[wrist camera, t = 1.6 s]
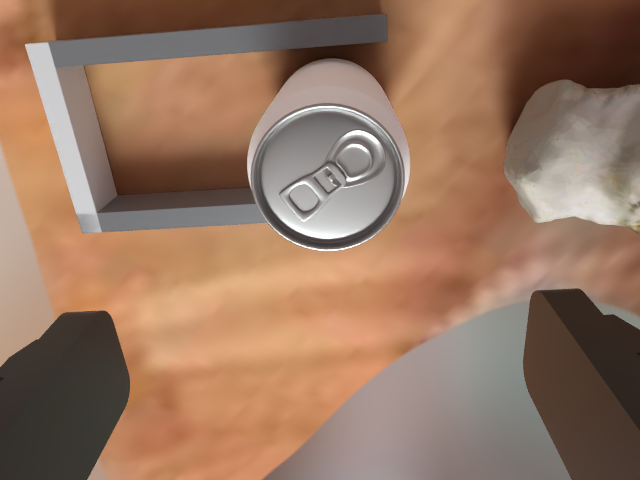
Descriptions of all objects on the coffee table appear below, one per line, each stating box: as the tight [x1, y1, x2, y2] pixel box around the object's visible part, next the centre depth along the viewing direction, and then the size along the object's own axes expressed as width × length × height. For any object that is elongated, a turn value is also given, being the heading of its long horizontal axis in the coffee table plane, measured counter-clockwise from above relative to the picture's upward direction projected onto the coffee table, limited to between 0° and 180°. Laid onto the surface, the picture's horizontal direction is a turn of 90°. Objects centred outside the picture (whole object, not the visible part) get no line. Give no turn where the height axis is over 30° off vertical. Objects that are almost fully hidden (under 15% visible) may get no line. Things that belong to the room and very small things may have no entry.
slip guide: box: [25, 14, 387, 233], centre depth 28 cm, size 18×10×3 cm, turn 94°
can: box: [247, 58, 410, 251], centre depth 24 cm, size 6×6×12 cm
